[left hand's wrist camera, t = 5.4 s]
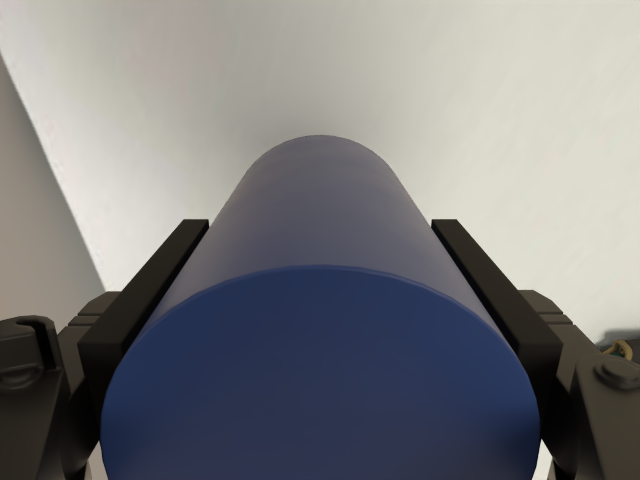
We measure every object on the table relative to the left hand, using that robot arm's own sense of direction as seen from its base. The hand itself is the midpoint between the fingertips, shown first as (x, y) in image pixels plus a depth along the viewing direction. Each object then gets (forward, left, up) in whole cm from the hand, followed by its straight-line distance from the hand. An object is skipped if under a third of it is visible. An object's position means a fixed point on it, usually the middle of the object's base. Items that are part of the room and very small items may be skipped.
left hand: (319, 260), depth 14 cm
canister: (0, 0, -3) cm, 3 cm away
